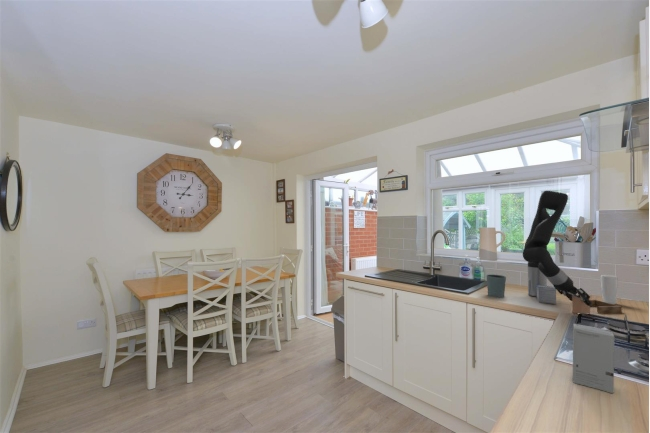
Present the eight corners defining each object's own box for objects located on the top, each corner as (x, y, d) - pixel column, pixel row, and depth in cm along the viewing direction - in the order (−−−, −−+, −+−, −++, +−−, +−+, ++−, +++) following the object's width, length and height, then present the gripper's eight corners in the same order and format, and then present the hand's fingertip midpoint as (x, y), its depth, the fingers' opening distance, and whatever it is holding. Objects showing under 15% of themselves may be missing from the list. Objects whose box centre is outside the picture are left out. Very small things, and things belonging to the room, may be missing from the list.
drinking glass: (621, 305, 156) (621, 277, 156) (607, 304, 157) (606, 276, 157) (612, 301, 162) (611, 274, 163) (597, 301, 164) (597, 274, 164)
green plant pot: (485, 293, 183) (485, 273, 183) (504, 294, 179) (504, 275, 179) (488, 296, 173) (488, 276, 174) (507, 298, 170) (507, 277, 170)
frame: (599, 313, 141) (599, 307, 142) (574, 305, 154) (574, 300, 155) (621, 312, 142) (621, 306, 142) (595, 305, 155) (595, 299, 155)
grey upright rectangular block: (572, 383, 79) (571, 328, 80) (572, 374, 84) (571, 322, 84) (616, 394, 74) (614, 335, 74) (613, 384, 78) (612, 329, 79)
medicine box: (554, 302, 162) (553, 286, 162) (556, 304, 158) (556, 288, 158) (536, 300, 165) (536, 285, 166) (538, 302, 161) (538, 286, 162)
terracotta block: (581, 315, 138) (580, 296, 139) (572, 312, 143) (572, 293, 143) (590, 315, 139) (589, 296, 139) (581, 312, 143) (580, 293, 144)
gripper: (577, 275, 134) (601, 300, 134) (551, 270, 148) (572, 293, 148) (566, 287, 133) (590, 312, 134) (541, 281, 147) (563, 303, 148)
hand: (581, 302), depth 141 cm, fingers open, 8 cm apart
